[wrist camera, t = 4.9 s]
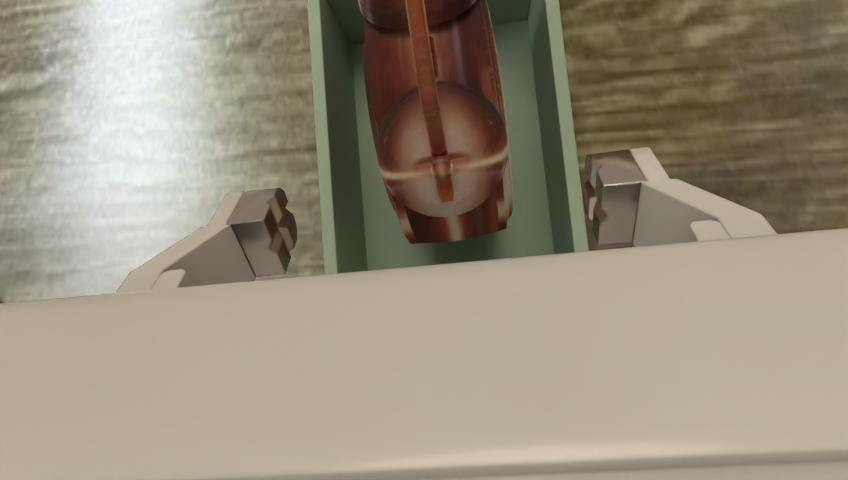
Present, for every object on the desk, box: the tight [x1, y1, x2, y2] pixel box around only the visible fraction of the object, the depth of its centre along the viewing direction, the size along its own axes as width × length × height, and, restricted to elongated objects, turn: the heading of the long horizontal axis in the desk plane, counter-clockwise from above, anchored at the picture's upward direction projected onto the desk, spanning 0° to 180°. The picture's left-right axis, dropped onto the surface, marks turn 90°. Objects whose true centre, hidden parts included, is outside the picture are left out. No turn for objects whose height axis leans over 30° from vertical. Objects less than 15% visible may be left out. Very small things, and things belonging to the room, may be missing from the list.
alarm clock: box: [358, 0, 513, 244], centre depth 21 cm, size 11×5×15 cm, turn 7°
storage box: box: [307, 0, 589, 275], centre depth 26 cm, size 11×15×6 cm
